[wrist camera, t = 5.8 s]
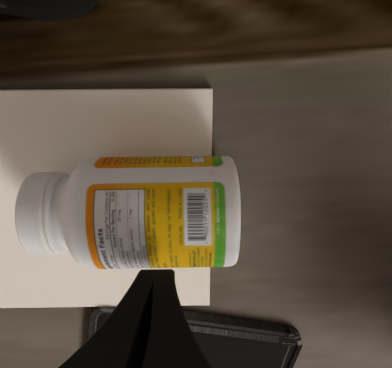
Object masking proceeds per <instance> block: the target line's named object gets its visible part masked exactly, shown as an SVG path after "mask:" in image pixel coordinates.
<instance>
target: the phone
mask: <svg viewBox="0 0 392 368" xmlns="http://www.w3.org/2000/svg"><path fill="white" fill-rule="evenodd" d="M115 308H116V306H114V307H110V306H103V307H94V308H93V311H92V313H91V316H90V319H89V331H88V339H89V338H90V337H91V336H92V335H93V334H94V333H95V332H96V331H97V330H98V329H99V327H100V326H101V325H102V324H103V323H104V321H105V320H106V319H107V318H108V316H109V315H110V314H111V313H112V311H113V310H114V309H115ZM183 312H184V315H185V317H186V320H187V322H188V325H189V327H190V329H191V331H192V333H193V335H194V337H195V339H196V341H197V343H198V345H199V347H200V348H201V350H202V352H203V354H204V355H205V357H206V358H207V360H208V362H209V363H210V365H211V366H212V368H293V366H294V364H295V362H296V359H297V357H298V355H299V353H300V350H301V348H302V340H301V337H300V334H299V332H298V330H297V329H296V328H294V327H293V326H289V325H284V324H276V323H269V322H262V321H255V320H248V319H240V318H233V317H226V316H219V315H212V314H204V313H197V312H190V311H183Z"/></svg>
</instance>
